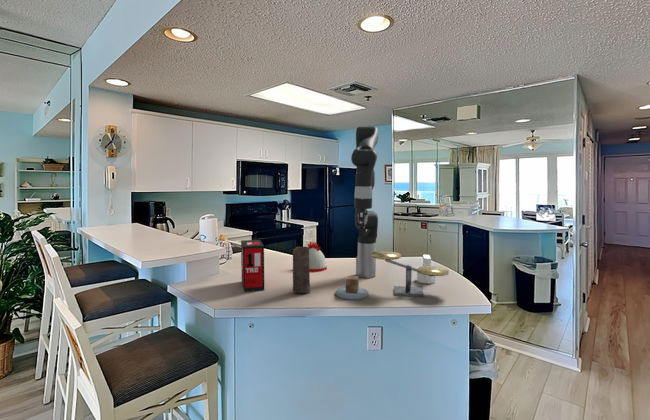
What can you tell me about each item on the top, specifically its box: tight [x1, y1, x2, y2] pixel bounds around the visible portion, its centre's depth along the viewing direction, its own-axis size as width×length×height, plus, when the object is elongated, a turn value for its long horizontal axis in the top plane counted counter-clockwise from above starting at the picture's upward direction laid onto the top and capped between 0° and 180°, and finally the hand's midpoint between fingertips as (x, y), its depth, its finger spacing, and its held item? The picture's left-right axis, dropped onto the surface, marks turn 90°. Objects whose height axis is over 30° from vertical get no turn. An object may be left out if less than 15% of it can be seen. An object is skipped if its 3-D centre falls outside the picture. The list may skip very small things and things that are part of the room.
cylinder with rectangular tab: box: [416, 254, 437, 284], centre depth 170 cm, size 9×9×12 cm
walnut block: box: [345, 275, 360, 294], centre depth 150 cm, size 5×5×6 cm
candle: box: [292, 246, 311, 294], centre depth 152 cm, size 8×7×20 cm
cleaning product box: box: [240, 239, 265, 293], centre depth 161 cm, size 16×9×20 cm, turn 17°
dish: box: [335, 286, 369, 301], centre depth 150 cm, size 14×14×1 cm
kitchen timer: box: [307, 241, 328, 273], centre depth 193 cm, size 14×14×15 cm
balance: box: [371, 250, 450, 298], centre depth 152 cm, size 33×13×16 cm, turn 80°
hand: (362, 234), depth 150 cm, fingers open, 8 cm apart
